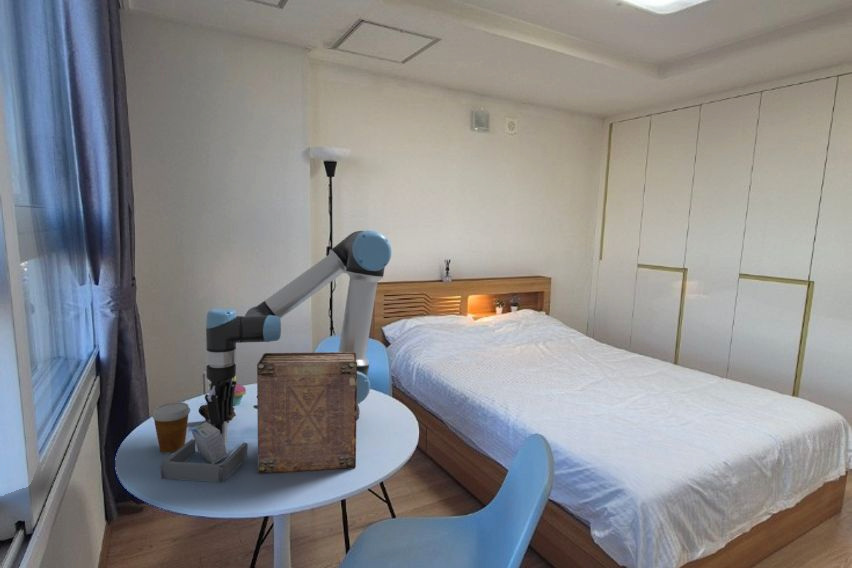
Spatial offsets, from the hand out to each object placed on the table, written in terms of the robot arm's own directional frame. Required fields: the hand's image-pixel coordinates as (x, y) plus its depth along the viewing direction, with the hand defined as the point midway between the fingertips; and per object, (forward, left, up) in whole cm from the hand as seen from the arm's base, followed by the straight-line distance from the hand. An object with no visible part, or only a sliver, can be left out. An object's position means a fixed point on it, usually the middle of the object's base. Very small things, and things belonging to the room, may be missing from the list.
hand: (221, 443), depth 126 cm
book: (-27, +3, -2) cm, 27 cm away
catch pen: (-1, +8, -2) cm, 9 cm away
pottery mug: (+10, -17, -2) cm, 20 cm away
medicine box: (0, +4, -2) cm, 4 cm away
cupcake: (+13, -34, -2) cm, 36 cm away
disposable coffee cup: (+14, 0, -2) cm, 14 cm away
